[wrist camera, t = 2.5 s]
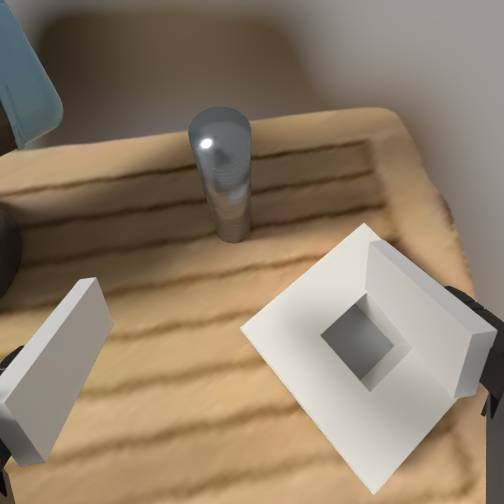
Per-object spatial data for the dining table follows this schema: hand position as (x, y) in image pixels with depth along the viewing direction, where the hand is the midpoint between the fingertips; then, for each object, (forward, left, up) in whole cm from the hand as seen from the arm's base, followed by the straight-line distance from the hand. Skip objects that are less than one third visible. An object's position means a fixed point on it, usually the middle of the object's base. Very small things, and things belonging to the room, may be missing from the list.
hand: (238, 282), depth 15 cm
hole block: (+8, +6, -16) cm, 19 cm away
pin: (-9, +5, -16) cm, 19 cm away
